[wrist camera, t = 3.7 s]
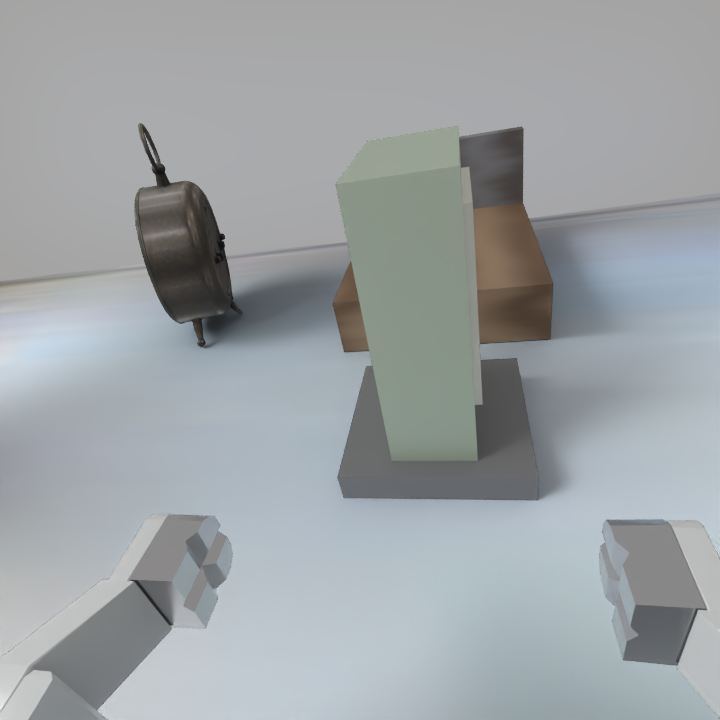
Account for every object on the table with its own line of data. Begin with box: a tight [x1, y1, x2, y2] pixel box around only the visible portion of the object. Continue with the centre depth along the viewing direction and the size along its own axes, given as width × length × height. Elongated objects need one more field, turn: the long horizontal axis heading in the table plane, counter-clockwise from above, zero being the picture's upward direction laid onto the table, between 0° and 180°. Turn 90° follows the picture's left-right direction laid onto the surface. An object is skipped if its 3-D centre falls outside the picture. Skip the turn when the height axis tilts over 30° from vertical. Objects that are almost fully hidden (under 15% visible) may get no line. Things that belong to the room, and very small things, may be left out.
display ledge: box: [333, 127, 553, 352], centre depth 37 cm, size 14×17×10 cm
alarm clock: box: [135, 123, 242, 347], centre depth 38 cm, size 11×5×16 cm, turn 12°
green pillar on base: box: [336, 126, 539, 500], centre depth 22 cm, size 9×9×14 cm
